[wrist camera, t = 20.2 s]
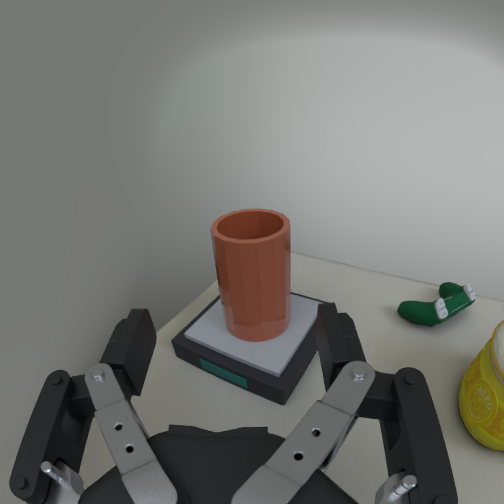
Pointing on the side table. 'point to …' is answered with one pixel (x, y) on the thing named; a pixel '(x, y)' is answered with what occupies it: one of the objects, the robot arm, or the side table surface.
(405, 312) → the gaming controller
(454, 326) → the side table surface
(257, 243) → the cup
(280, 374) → the scale
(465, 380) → the mug
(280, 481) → the robot arm
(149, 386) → the side table surface
